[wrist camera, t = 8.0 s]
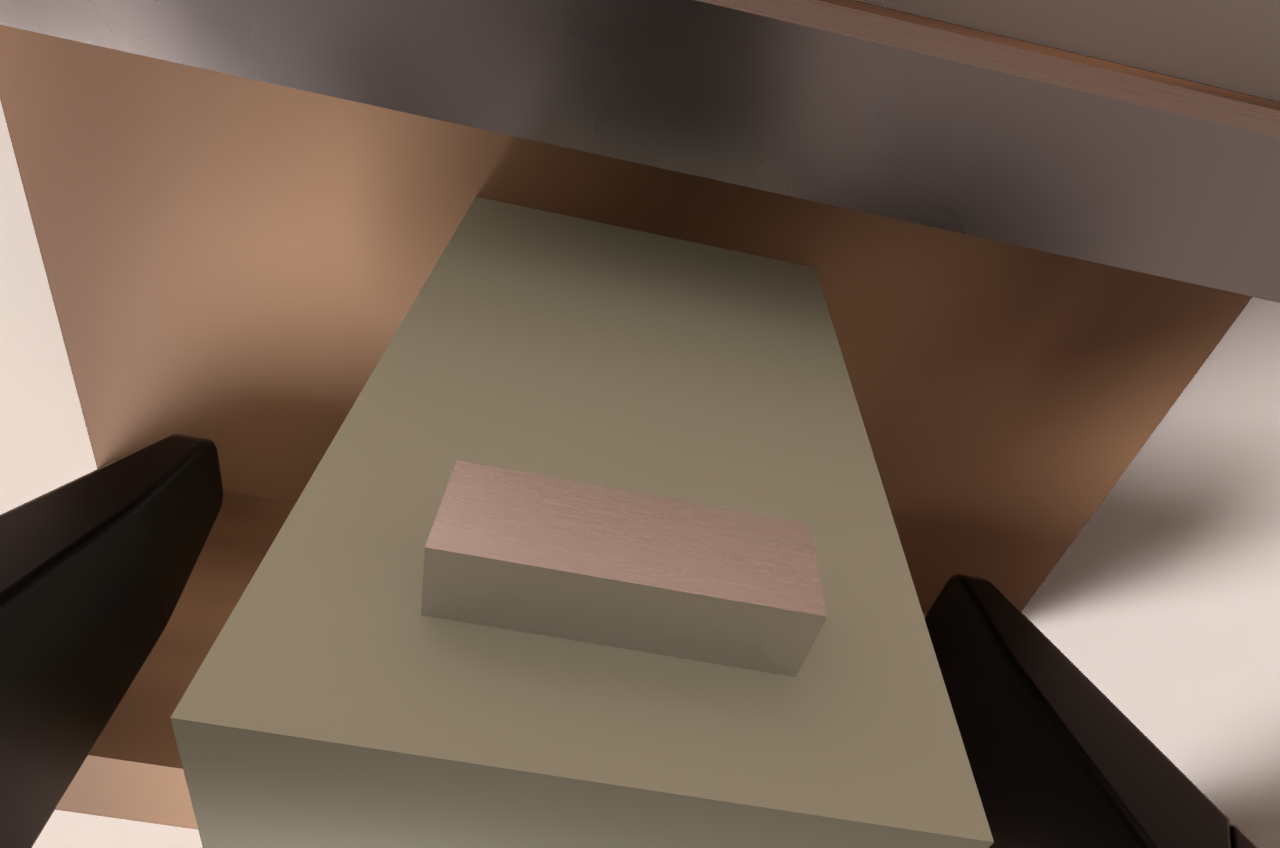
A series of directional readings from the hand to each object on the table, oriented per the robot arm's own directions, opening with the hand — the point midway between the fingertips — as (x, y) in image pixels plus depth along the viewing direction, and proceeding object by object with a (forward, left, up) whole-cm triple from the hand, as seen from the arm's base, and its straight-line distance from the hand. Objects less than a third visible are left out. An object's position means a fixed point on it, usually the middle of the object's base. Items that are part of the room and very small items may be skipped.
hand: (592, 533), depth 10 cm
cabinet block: (0, 0, -3) cm, 3 cm away
